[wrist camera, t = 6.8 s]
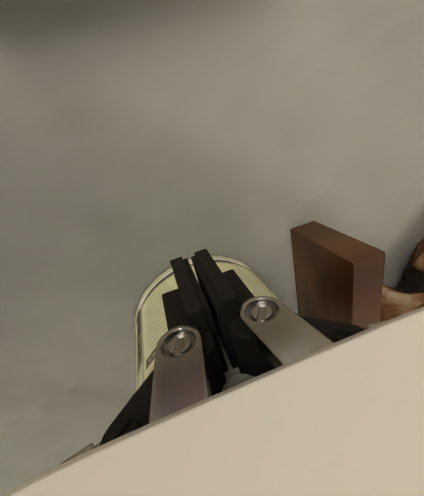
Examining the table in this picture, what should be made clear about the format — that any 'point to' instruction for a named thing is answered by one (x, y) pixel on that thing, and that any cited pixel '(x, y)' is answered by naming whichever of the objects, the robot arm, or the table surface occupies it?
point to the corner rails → (337, 275)
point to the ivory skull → (405, 289)
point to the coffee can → (155, 326)
